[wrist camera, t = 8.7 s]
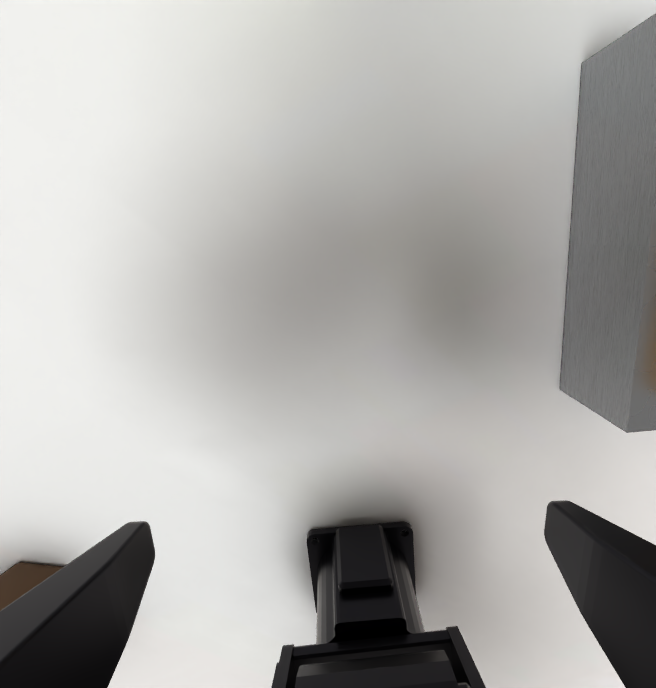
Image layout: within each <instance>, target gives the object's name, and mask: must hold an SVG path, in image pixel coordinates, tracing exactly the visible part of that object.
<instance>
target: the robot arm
mask: <svg viewBox="0 0 656 688" xmlns="http://www.w3.org/2000/svg"><path fill="white" fill-rule="evenodd" d="M402 530H406V531H405V532H401V531H402ZM544 535H545V540H546V543H547V545H548V547H549V549H550V551H551V553H552V555H553V557H554V560H555V562H556V564H557V566H558V568H559V570H560V572H561V574H562V576H563V578H564V580H565V582H566V584H567V586H568V588H569V590H570V592H571V594H572V596H573V598H574V600H575V602H576V604H577V606H578V608H579V610H580V612H581V614H582V616H583V617H584V619H585V621H586V623H587V624H588V626H589V628H590V629H591V631H592V633H593V634H594V636H595V638H596V639H597V641H598V643H599V644H600V646H601V647H602V649H603V651H604V652H605V654H606V656H607V657H608V659H609V661H610V662H611V664H612V666H613V667H614V669H615V671H616V672H617V674H618V676H619V677H620V679H621V681H622V682H623V684H624V685H625V687H626V688H656V545H654V544H652V543H650V542H648V541H646V540H644V539H642V538H640V537H638V536H636V535H635V534H633V533H631V532H629V531H627V530H625V529H623V528H621V527H619V526H617V525H615V524H613V523H611V522H609V521H607V520H605V519H603V518H601V517H600V516H598V515H596V514H594V513H592V512H590V511H588V510H586V509H584V508H582V507H580V506H578V505H576V504H574V503H572V502H570V501H551V502H550V503H549V504H548V506H547V512H546V520H545V529H544ZM312 538H318V539H316V540H314V539H312ZM307 547H308V555H309V562H310V570H311V577H312V585H313V592H314V600H315V607H316V613H317V641H316V644H314V645H305V646H296V647H294V645H284V646H283V647H282V652H281V656H280V661H279V663H277V665H276V670H275V674H274V679H273V683H272V688H486V687H485V685H484V683H483V681H482V679H481V676H480V674H479V672H478V670H477V668H476V666H475V663H474V661H473V659H472V657H471V655H470V653H469V650H468V648H467V646H466V644H465V642H464V640H463V637H462V635H461V633H460V631H459V629H458V627H457V626H455V627H446V630H440V631H431V632H425V631H424V627H423V623H422V619H421V615H420V611H419V607H418V604H417V600H416V591H415V569H414V547H413V531H412V528H411V525H410V524H409V523H407V522H394V523H382V524H371V525H360V526H348V527H337V528H326V529H314V530H311V531H309V532H308V534H307ZM154 559H155V549H154V544H153V539H152V534H151V529H150V525H149V524H148V523H147V522H145V521H140V522H129V523H127V524H125V525H124V526H122V527H121V528H119V529H118V530H117V531H115V532H114V533H112V534H111V535H109V536H108V537H106V538H105V539H103V540H102V541H101V542H99V543H98V544H96V545H95V546H93V547H92V548H90V549H89V550H88V551H86V552H85V553H83V554H82V555H80V556H79V557H77V558H76V559H75V560H73V561H72V562H70V563H69V564H67V565H66V566H64V567H63V568H62V569H60V570H59V571H57V572H56V573H54V574H53V575H51V576H50V577H48V578H47V579H46V580H44V581H43V582H41V583H40V584H38V585H37V586H35V587H34V588H33V589H31V590H30V591H28V592H27V593H25V594H24V595H22V596H21V597H20V598H18V599H17V600H15V601H14V602H12V603H11V604H9V605H8V606H6V607H5V608H4V609H2V610H1V611H0V688H107V687H108V685H109V683H110V680H111V678H112V676H113V673H114V671H115V669H116V667H117V664H118V662H119V660H120V657H121V655H122V653H123V650H124V648H125V646H126V643H127V641H128V638H129V636H130V633H131V630H132V627H133V625H134V622H135V618H136V615H137V612H138V609H139V606H140V603H141V600H142V597H143V594H144V591H145V588H146V585H147V582H148V579H149V576H150V573H151V570H152V567H153V564H154Z"/></svg>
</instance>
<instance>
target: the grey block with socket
mask: <svg viewBox="0 0 656 688" xmlns="http://www.w3.org/2000/svg"><path fill="white" fill-rule="evenodd" d="M560 390H561V391H563V392H564V393H566V394H567V395H569V396H570V397H572V398H574V399H575V400H577V401H578V402H580V403H581V404H583V405H584V406H586V407H588V408H589V409H591V410H592V411H594V412H595V413H597V414H598V415H600V416H602V417H603V418H605V419H606V420H608V421H609V422H611V423H612V424H614V425H616V426H617V427H619V428H620V429H622V430H623V431H625V432H626V433H629V432H640V431H651V430H656V14H654V15H653V16H651V17H650V18H648V19H647V20H645V21H644V22H642V23H641V24H639V25H638V26H636V27H635V28H633V29H632V30H630V31H629V32H627V33H626V34H624V35H623V36H622V37H620V38H619V39H617V40H616V41H614V42H613V43H611V44H610V45H608V46H607V47H605V48H604V49H602V50H601V51H599V52H598V53H596V54H595V55H593V56H592V57H590V58H589V59H587V60H586V61H584V62H583V63H582V70H581V85H580V100H579V115H578V129H577V144H576V159H575V174H574V188H573V203H572V218H571V233H570V247H569V262H568V277H567V291H566V306H565V321H564V336H563V350H562V365H561V380H560Z"/></svg>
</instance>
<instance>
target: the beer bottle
mask: <svg viewBox="0 0 656 688" xmlns="http://www.w3.org/2000/svg"><path fill="white" fill-rule="evenodd" d="M62 568H63V567H61V566H52V565H42V564H33V563H24V562H20V563H18V564H16V565H14V566H13V567H11V568H10V569H9V570H7V571H6V572H4V573H3V574H2V575H0V611H1V610H2V609H4V608H5V607H6V606H8V605H9V604H11V603H12V602H14V601H15V600H17V599H18V598H20V597H21V596H22V595H24V594H25V593H27V592H28V591H30V590H31V589H33V588H34V587H35V586H37V585H38V584H40V583H41V582H43V581H44V580H46V579H47V578H48V577H50V576H51V575H53V574H54V573H56V572H57V571H59V570H60V569H62Z"/></svg>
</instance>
